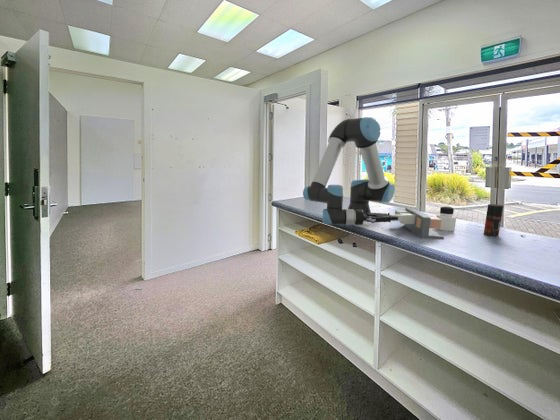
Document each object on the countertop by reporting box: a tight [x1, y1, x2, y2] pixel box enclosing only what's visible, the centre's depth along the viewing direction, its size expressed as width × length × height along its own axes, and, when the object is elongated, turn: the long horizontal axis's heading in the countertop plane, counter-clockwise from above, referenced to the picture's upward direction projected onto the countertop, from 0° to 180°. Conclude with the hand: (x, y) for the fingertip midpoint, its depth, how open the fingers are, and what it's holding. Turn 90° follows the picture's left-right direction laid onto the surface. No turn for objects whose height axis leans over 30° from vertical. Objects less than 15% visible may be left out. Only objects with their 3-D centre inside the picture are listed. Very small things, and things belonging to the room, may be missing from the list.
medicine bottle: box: [436, 205, 457, 232], centre depth 150 cm, size 7×7×12 cm
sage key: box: [394, 209, 410, 215], centre depth 153 cm, size 10×4×4 cm, turn 85°
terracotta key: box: [416, 216, 442, 230], centre depth 137 cm, size 10×4×4 cm, turn 85°
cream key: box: [398, 213, 416, 225], centre depth 145 cm, size 10×4×4 cm, turn 85°
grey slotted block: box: [403, 207, 445, 240], centre depth 145 cm, size 10×25×10 cm, turn 175°
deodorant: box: [483, 203, 504, 237], centre depth 139 cm, size 6×6×15 cm
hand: (403, 217), depth 138 cm, fingers closed
